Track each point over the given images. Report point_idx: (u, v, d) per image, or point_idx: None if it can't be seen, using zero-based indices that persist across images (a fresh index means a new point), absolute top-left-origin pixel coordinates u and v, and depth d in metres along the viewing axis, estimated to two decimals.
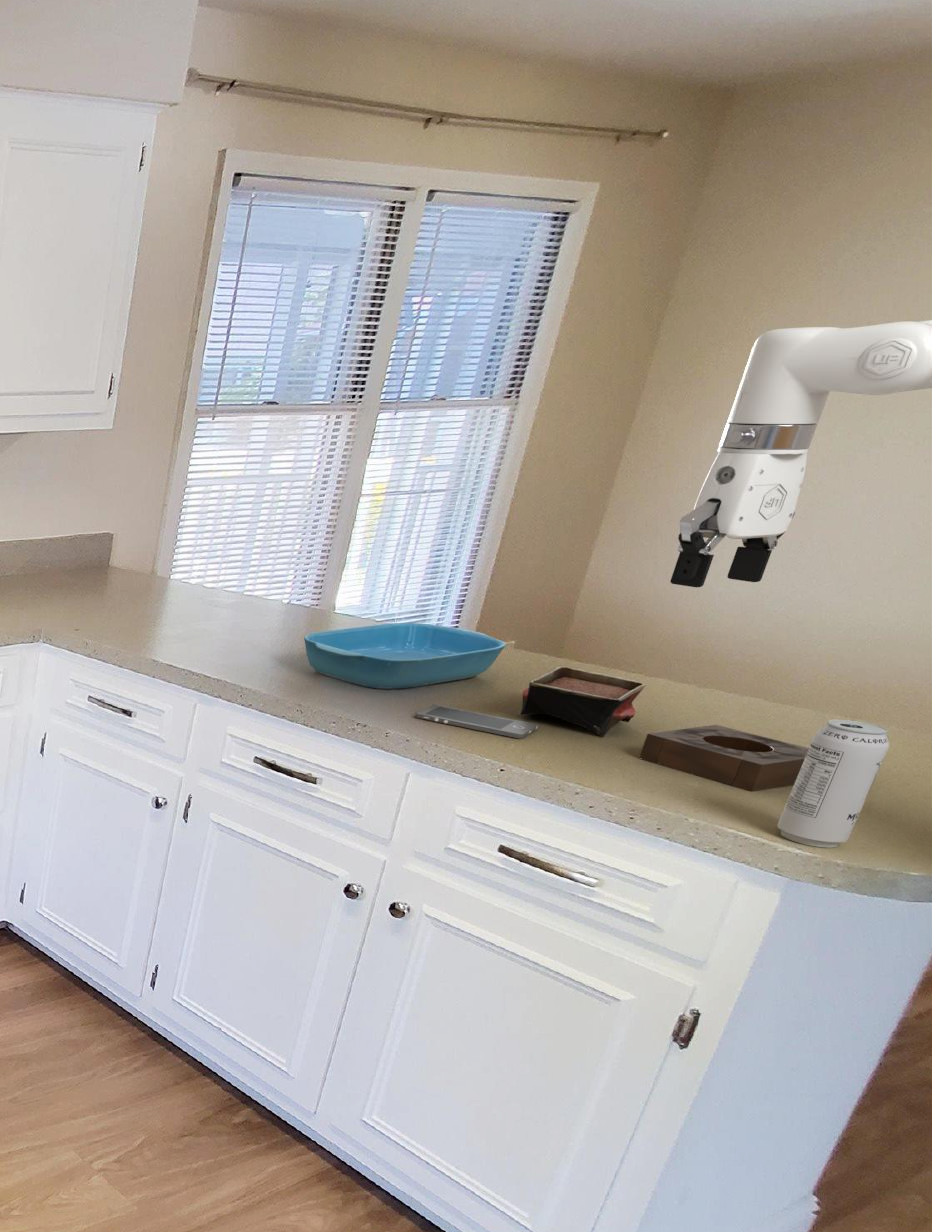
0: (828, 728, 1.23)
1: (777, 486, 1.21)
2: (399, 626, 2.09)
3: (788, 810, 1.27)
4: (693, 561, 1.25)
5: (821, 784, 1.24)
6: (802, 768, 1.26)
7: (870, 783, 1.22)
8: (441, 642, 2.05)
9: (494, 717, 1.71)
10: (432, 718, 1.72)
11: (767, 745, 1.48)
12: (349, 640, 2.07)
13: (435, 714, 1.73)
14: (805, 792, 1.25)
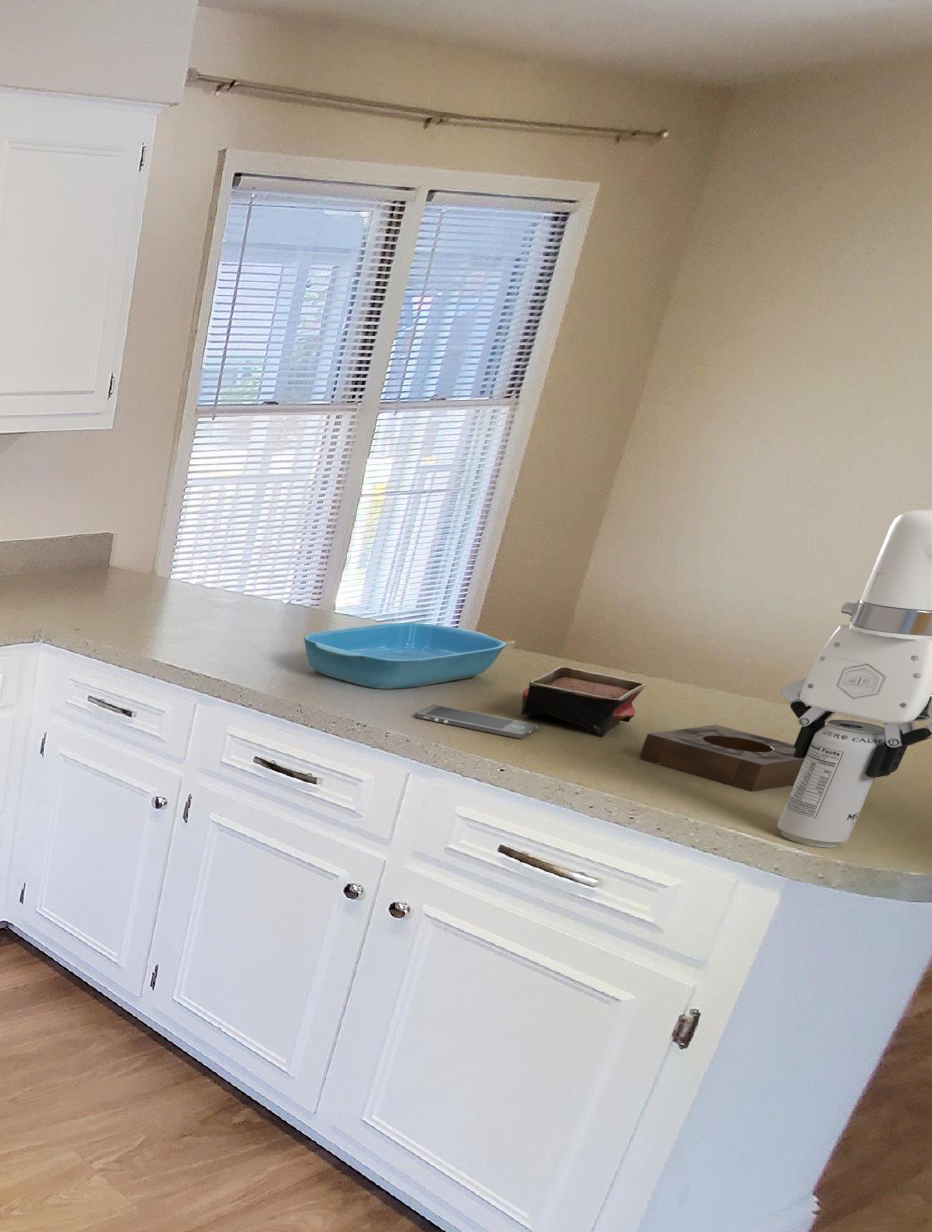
0: (828, 728, 1.23)
1: (865, 665, 1.19)
2: (399, 626, 2.09)
3: (788, 810, 1.27)
4: None
5: (821, 784, 1.24)
6: (802, 768, 1.26)
7: (870, 783, 1.22)
8: (441, 642, 2.05)
9: (494, 717, 1.71)
10: (432, 718, 1.72)
11: (767, 745, 1.48)
12: (349, 640, 2.07)
13: (435, 714, 1.73)
14: (805, 792, 1.25)
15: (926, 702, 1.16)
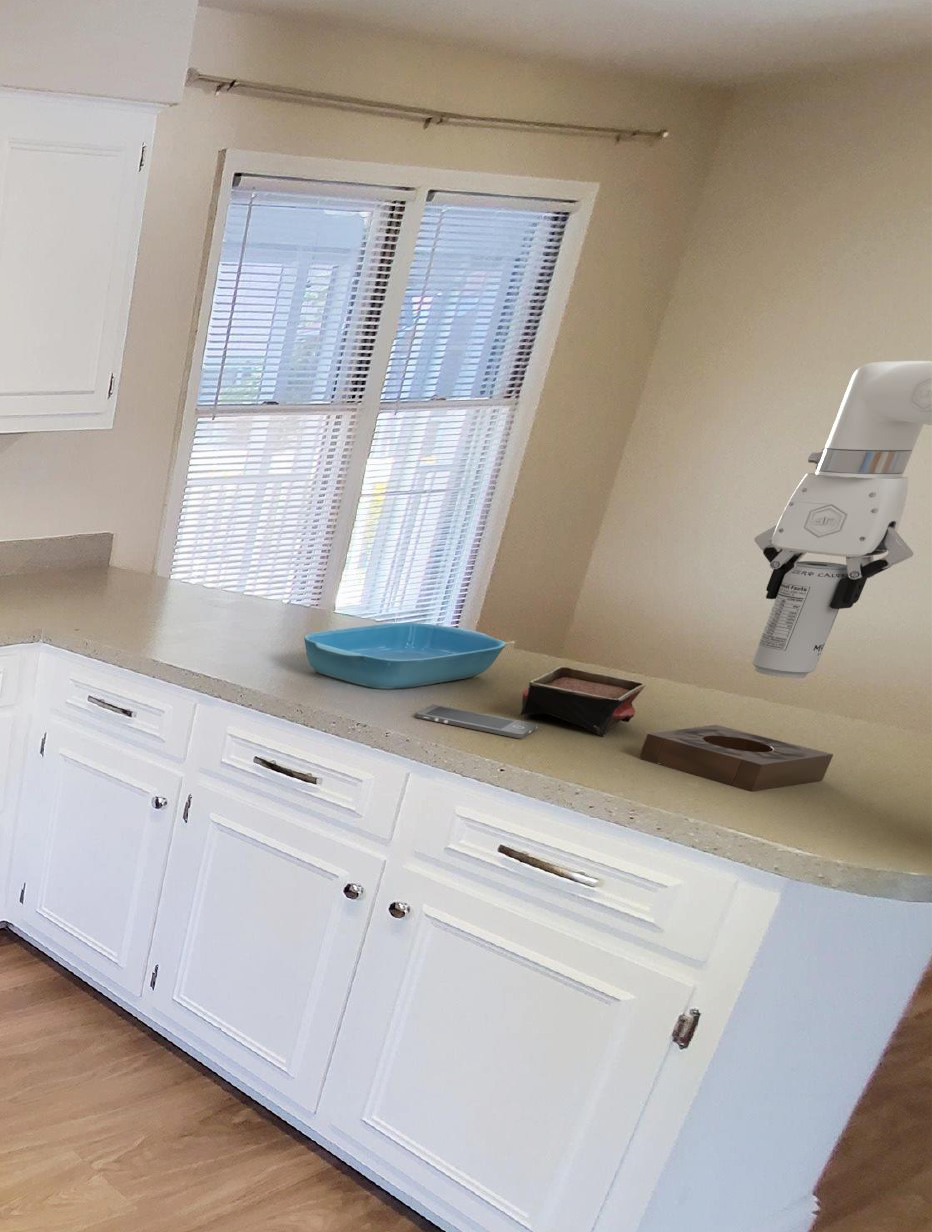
0: (796, 567, 1.36)
1: (829, 505, 1.32)
2: (399, 626, 2.09)
3: (761, 647, 1.40)
4: None
5: (790, 619, 1.37)
6: (773, 606, 1.39)
7: (834, 615, 1.35)
8: (441, 642, 2.05)
9: (494, 717, 1.71)
10: (432, 718, 1.72)
11: (767, 745, 1.48)
12: (349, 640, 2.07)
13: (435, 714, 1.73)
14: (776, 628, 1.38)
15: (883, 535, 1.29)
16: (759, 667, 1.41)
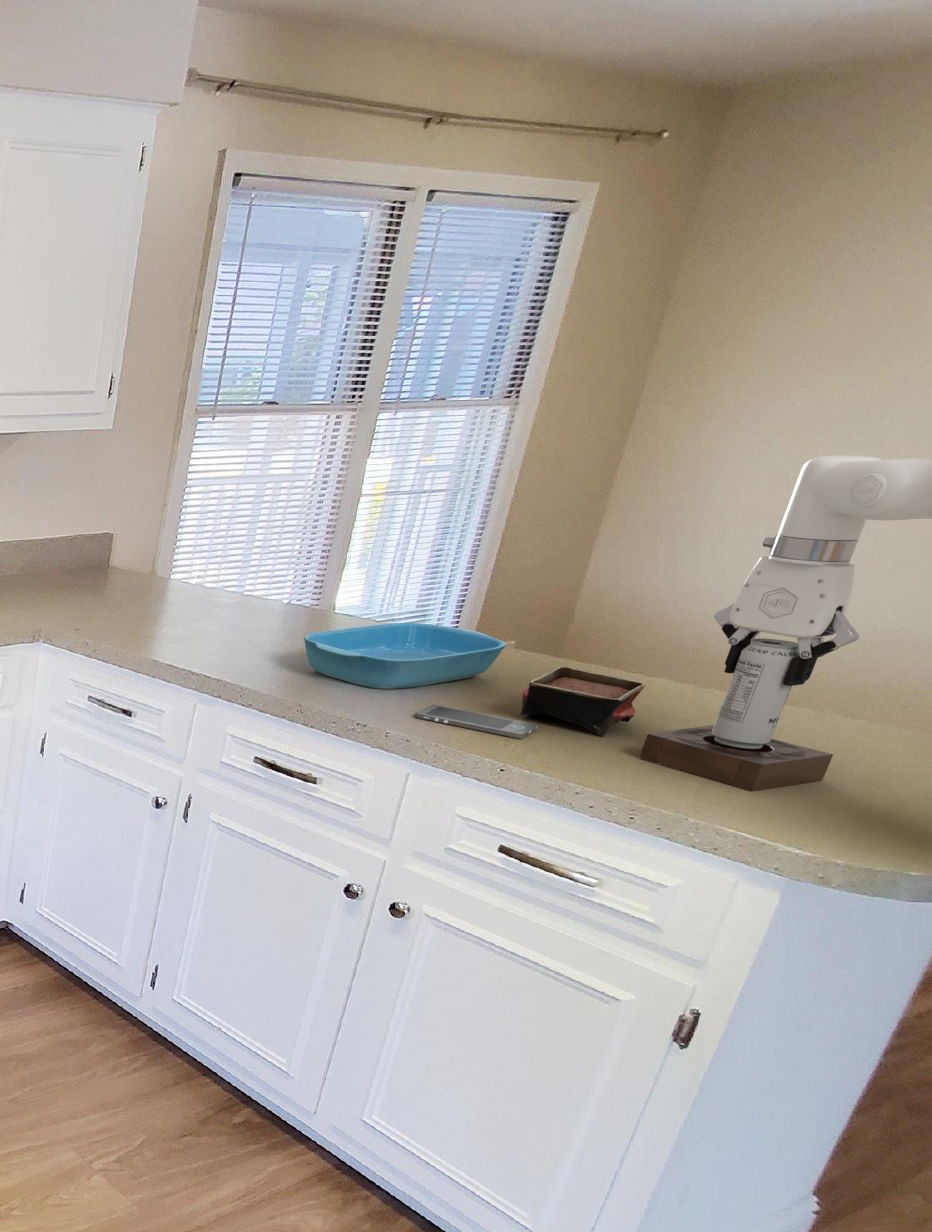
0: (752, 645, 1.44)
1: (782, 589, 1.40)
2: (399, 626, 2.09)
3: (720, 718, 1.48)
4: None
5: (746, 693, 1.44)
6: (731, 680, 1.47)
7: (787, 691, 1.43)
8: (441, 642, 2.05)
9: (494, 717, 1.71)
10: (432, 718, 1.72)
11: (767, 745, 1.48)
12: (349, 640, 2.07)
13: (435, 714, 1.73)
14: (733, 701, 1.46)
15: (831, 619, 1.36)
16: (718, 737, 1.48)
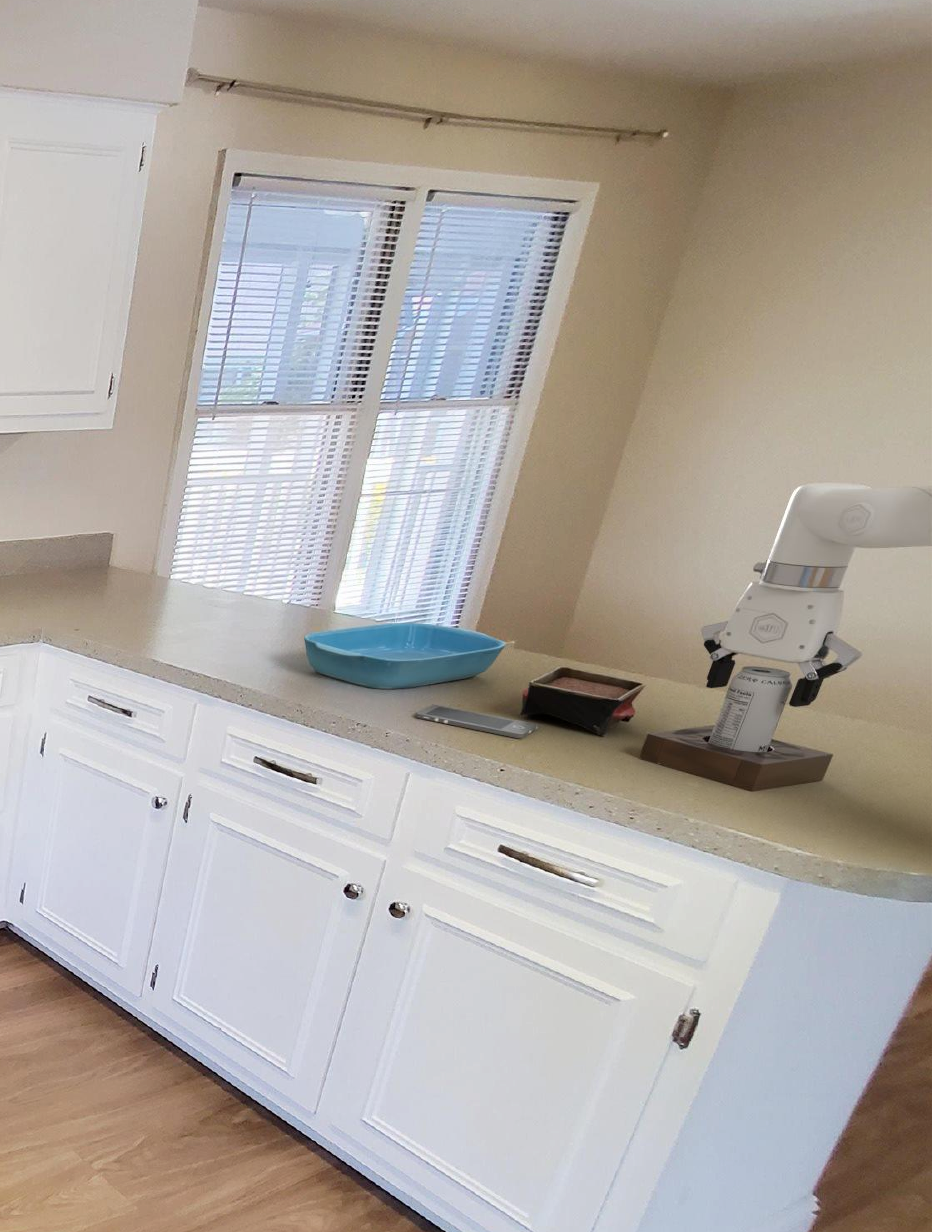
0: (742, 673, 1.45)
1: (772, 614, 1.41)
2: (399, 626, 2.09)
3: None
4: None
5: (736, 721, 1.46)
6: (722, 708, 1.48)
7: (777, 719, 1.44)
8: (441, 642, 2.05)
9: (494, 717, 1.71)
10: (432, 718, 1.72)
11: None
12: (349, 640, 2.07)
13: (435, 714, 1.73)
14: (723, 728, 1.47)
15: (821, 644, 1.38)
16: None
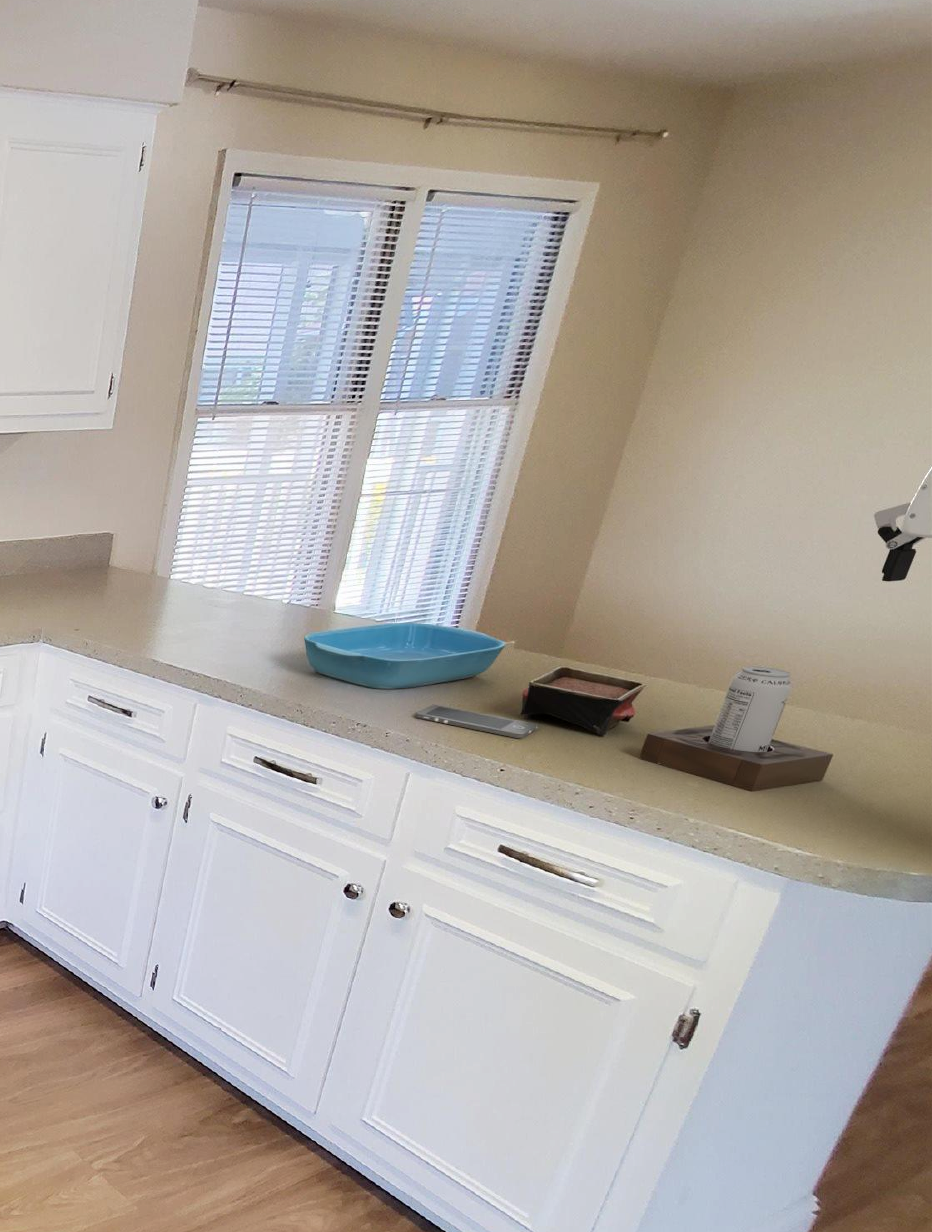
0: (742, 673, 1.45)
1: None
2: (399, 626, 2.09)
3: None
4: None
5: (736, 721, 1.46)
6: (722, 708, 1.48)
7: (777, 719, 1.44)
8: (441, 642, 2.05)
9: (494, 717, 1.71)
10: (432, 718, 1.72)
11: None
12: (349, 640, 2.07)
13: (435, 714, 1.73)
14: (723, 728, 1.47)
15: None
16: None
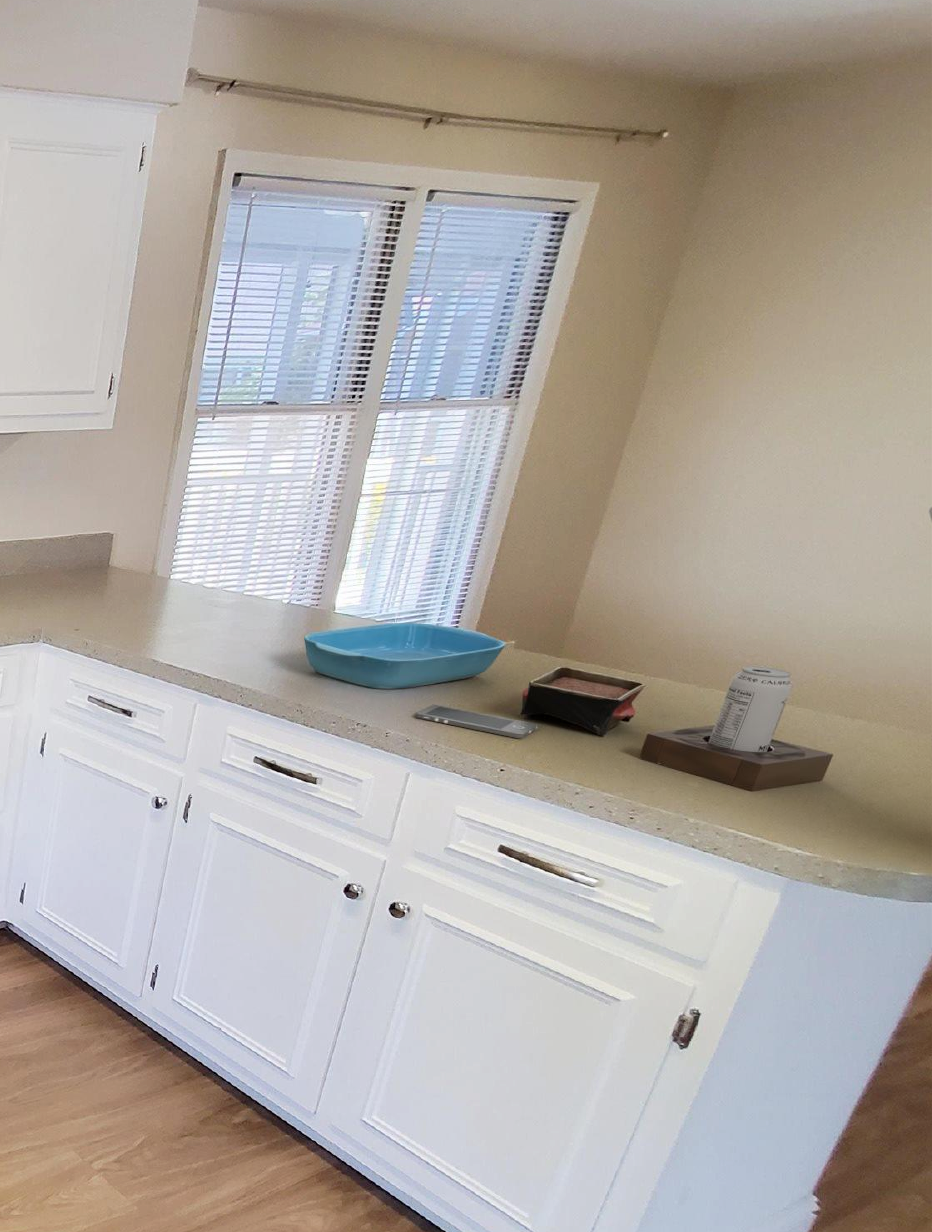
0: (742, 673, 1.45)
1: None
2: (399, 626, 2.09)
3: None
4: None
5: (736, 721, 1.46)
6: (722, 708, 1.48)
7: (777, 719, 1.44)
8: (441, 642, 2.05)
9: (494, 717, 1.71)
10: (432, 718, 1.72)
11: None
12: (349, 640, 2.07)
13: (435, 714, 1.73)
14: (723, 728, 1.47)
15: None
16: None
